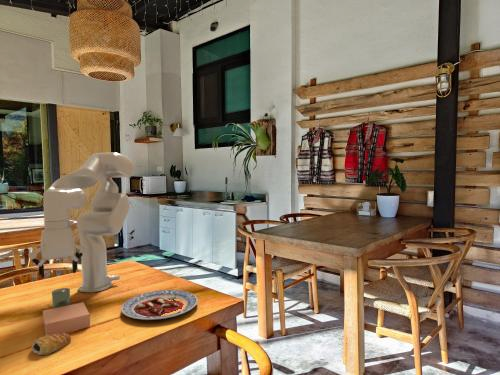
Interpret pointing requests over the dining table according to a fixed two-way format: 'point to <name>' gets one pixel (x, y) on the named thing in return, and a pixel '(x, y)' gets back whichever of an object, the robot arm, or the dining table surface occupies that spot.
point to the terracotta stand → (66, 319)
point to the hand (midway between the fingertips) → (58, 274)
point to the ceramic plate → (158, 304)
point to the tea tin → (61, 297)
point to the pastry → (50, 343)
